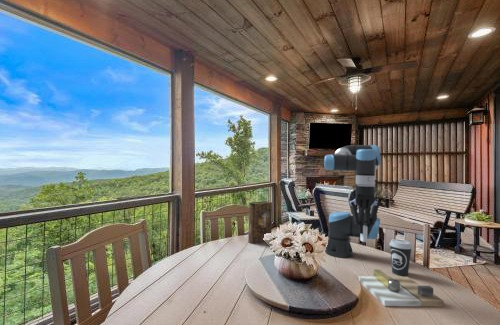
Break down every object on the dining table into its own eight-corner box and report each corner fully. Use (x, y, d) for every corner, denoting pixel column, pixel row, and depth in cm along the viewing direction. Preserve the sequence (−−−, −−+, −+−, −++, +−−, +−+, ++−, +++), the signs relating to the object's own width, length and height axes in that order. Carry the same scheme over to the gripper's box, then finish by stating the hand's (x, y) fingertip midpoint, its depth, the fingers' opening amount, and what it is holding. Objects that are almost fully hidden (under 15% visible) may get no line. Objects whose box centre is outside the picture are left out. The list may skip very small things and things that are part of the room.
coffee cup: (415, 278, 116) (416, 245, 117) (392, 276, 118) (393, 243, 119) (407, 270, 126) (407, 239, 126) (385, 268, 128) (386, 237, 128)
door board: (358, 280, 113) (358, 269, 113) (407, 281, 114) (407, 269, 114) (384, 306, 93) (384, 292, 93) (443, 306, 94) (443, 292, 94)
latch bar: (372, 275, 113) (372, 268, 113) (381, 275, 113) (381, 268, 113) (391, 291, 98) (392, 283, 98) (402, 291, 99) (402, 283, 99)
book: (252, 244, 160) (253, 204, 160) (246, 242, 164) (248, 202, 164) (271, 239, 171) (272, 202, 171) (265, 237, 175) (266, 201, 175)
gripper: (353, 185, 105) (352, 243, 105) (385, 186, 106) (383, 244, 106) (346, 184, 113) (344, 238, 113) (375, 185, 113) (374, 238, 113)
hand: (363, 241), depth 109 cm, fingers closed
